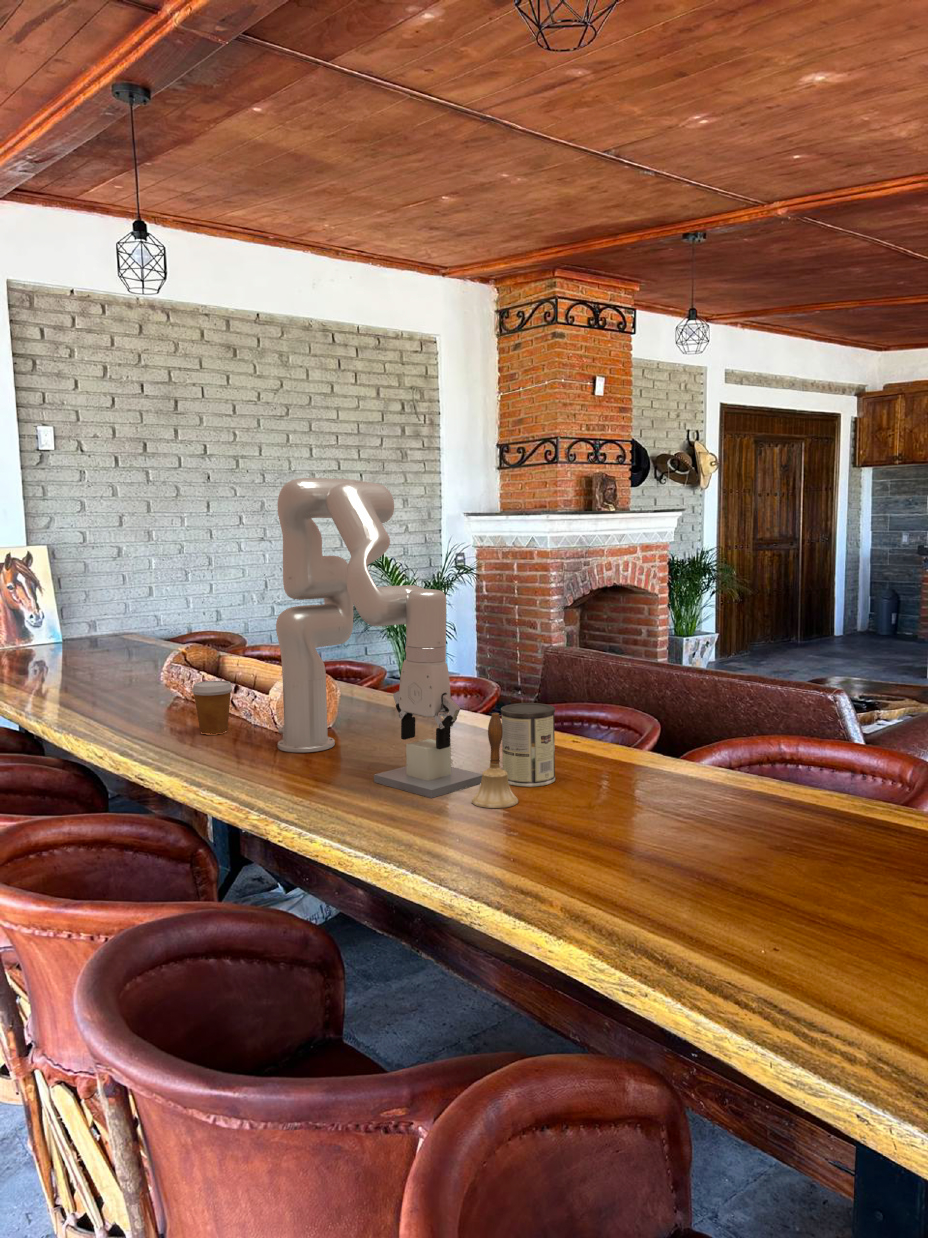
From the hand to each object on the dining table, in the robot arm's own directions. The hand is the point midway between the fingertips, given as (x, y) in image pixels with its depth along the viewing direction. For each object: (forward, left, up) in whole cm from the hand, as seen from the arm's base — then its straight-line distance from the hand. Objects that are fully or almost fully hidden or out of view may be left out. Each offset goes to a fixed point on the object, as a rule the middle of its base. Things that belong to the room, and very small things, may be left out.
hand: (425, 743), depth 180 cm
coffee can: (+14, +14, -8) cm, 21 cm away
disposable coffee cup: (-70, -4, -8) cm, 71 cm away
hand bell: (+19, -1, -8) cm, 20 cm away
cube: (+1, 0, -6) cm, 6 cm away
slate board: (+1, 0, -8) cm, 8 cm away
